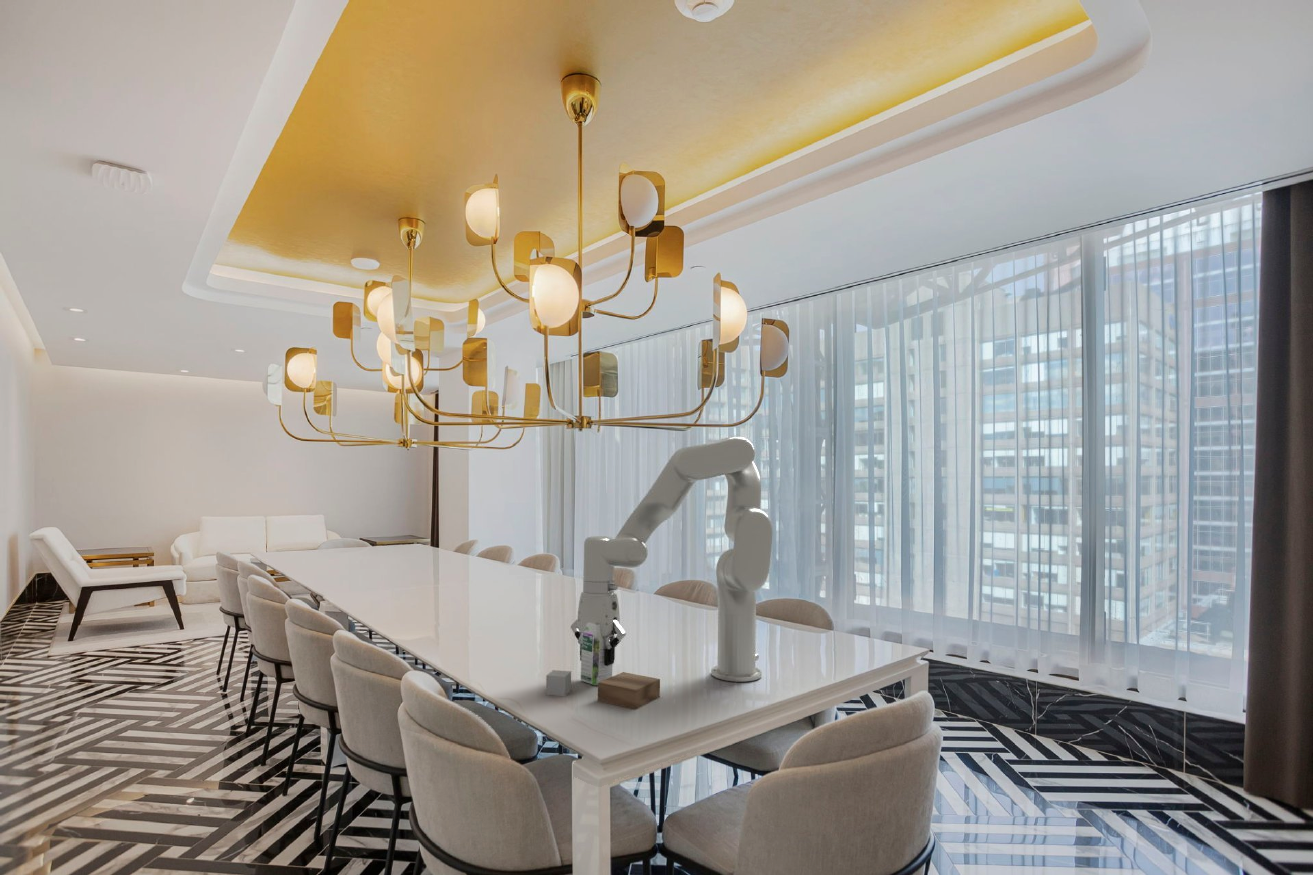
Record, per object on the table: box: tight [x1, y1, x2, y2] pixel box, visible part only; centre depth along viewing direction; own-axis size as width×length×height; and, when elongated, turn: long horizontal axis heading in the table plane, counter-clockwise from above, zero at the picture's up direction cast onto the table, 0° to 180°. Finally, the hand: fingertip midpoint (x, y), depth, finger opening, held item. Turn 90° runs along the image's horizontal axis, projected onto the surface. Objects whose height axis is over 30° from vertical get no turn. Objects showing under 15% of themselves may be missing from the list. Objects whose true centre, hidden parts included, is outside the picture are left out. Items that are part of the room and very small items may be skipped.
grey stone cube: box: [545, 669, 572, 697], centre depth 158 cm, size 4×4×4 cm
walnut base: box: [597, 671, 661, 710], centre depth 154 cm, size 10×10×4 cm
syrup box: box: [580, 623, 614, 686], centre depth 168 cm, size 6×6×14 cm
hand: (596, 661), depth 168 cm, fingers closed on syrup box, 6 cm apart
